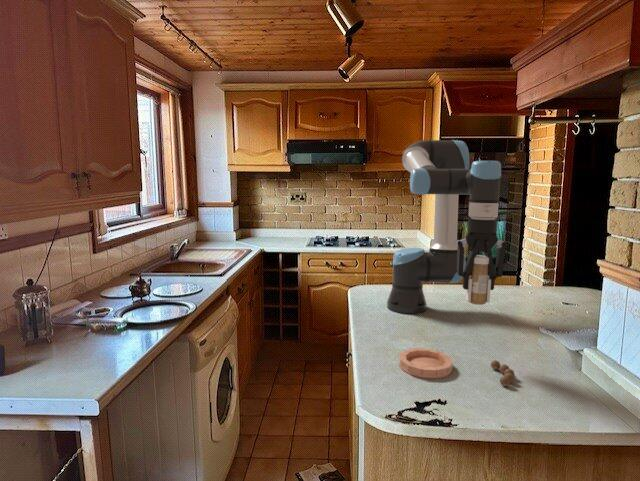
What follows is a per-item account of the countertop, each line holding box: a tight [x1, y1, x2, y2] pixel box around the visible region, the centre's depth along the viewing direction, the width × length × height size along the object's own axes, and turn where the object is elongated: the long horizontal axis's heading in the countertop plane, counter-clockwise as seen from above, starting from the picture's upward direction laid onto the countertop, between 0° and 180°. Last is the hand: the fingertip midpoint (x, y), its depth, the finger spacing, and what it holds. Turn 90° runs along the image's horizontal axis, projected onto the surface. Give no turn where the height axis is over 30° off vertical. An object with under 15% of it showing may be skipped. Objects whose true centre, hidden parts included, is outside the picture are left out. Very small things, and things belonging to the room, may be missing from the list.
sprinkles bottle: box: [469, 254, 489, 306], centre depth 119 cm, size 5×5×14 cm
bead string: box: [490, 360, 515, 387], centre depth 110 cm, size 12×5×2 cm, turn 174°
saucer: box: [398, 347, 453, 380], centre depth 115 cm, size 14×14×2 cm
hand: (477, 300), depth 120 cm, fingers closed on sprinkles bottle, 4 cm apart
